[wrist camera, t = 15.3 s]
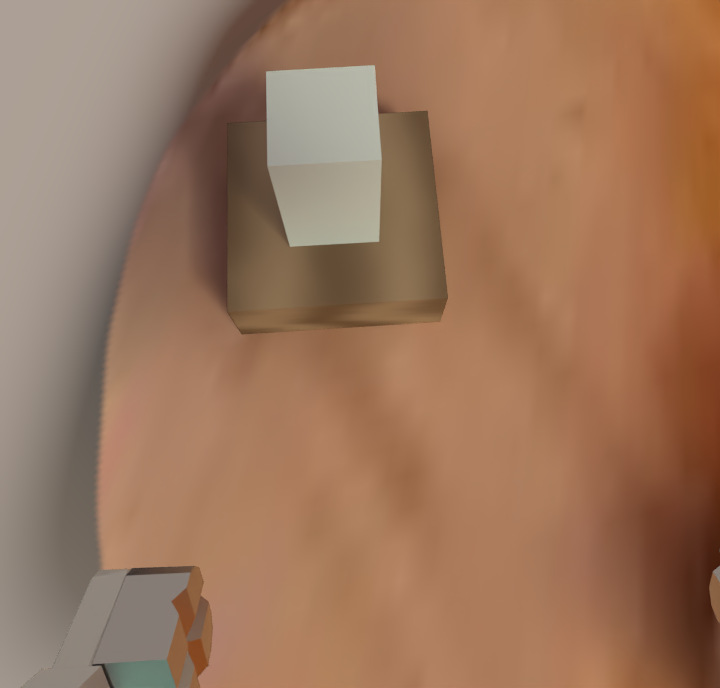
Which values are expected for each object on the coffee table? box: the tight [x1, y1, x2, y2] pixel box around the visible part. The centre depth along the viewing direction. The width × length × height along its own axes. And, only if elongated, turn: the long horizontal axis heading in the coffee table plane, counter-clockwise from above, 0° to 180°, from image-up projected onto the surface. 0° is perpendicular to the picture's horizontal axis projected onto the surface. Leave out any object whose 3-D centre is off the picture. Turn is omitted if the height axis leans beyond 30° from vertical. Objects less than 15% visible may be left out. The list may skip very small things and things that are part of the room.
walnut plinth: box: [227, 111, 448, 334], centre depth 37 cm, size 12×12×4 cm
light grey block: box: [266, 65, 382, 247], centre depth 32 cm, size 5×5×8 cm
